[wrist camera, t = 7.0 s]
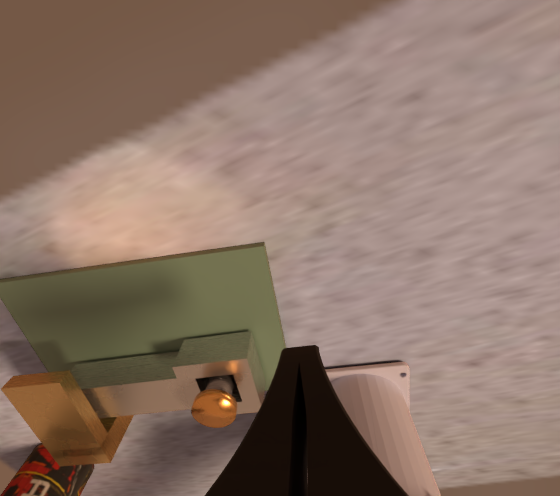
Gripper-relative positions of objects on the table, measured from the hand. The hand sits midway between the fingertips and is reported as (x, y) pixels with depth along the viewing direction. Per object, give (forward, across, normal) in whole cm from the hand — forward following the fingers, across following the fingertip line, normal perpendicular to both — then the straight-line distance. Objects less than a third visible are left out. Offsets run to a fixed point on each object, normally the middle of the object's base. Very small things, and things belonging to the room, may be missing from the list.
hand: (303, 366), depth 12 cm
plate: (+9, +12, +5) cm, 16 cm away
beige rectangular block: (+9, +11, +8) cm, 16 cm away
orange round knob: (+9, +6, +8) cm, 13 cm away
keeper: (+9, +18, +8) cm, 21 cm away
